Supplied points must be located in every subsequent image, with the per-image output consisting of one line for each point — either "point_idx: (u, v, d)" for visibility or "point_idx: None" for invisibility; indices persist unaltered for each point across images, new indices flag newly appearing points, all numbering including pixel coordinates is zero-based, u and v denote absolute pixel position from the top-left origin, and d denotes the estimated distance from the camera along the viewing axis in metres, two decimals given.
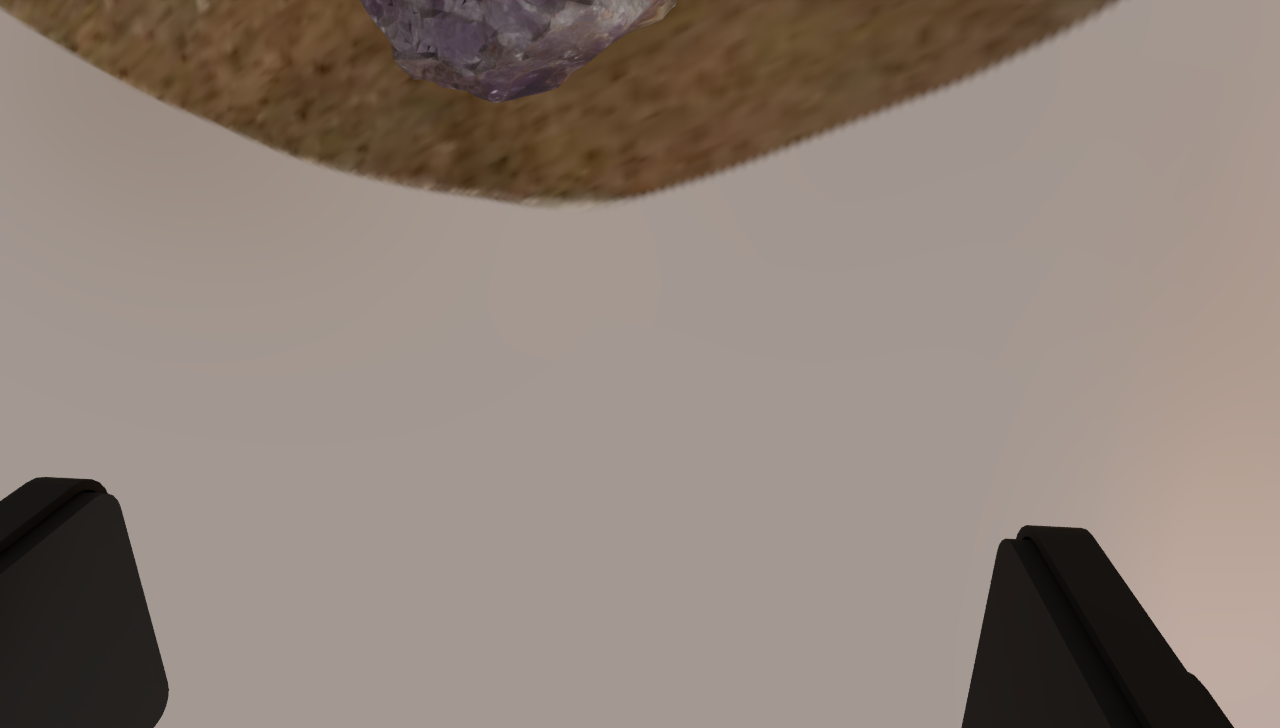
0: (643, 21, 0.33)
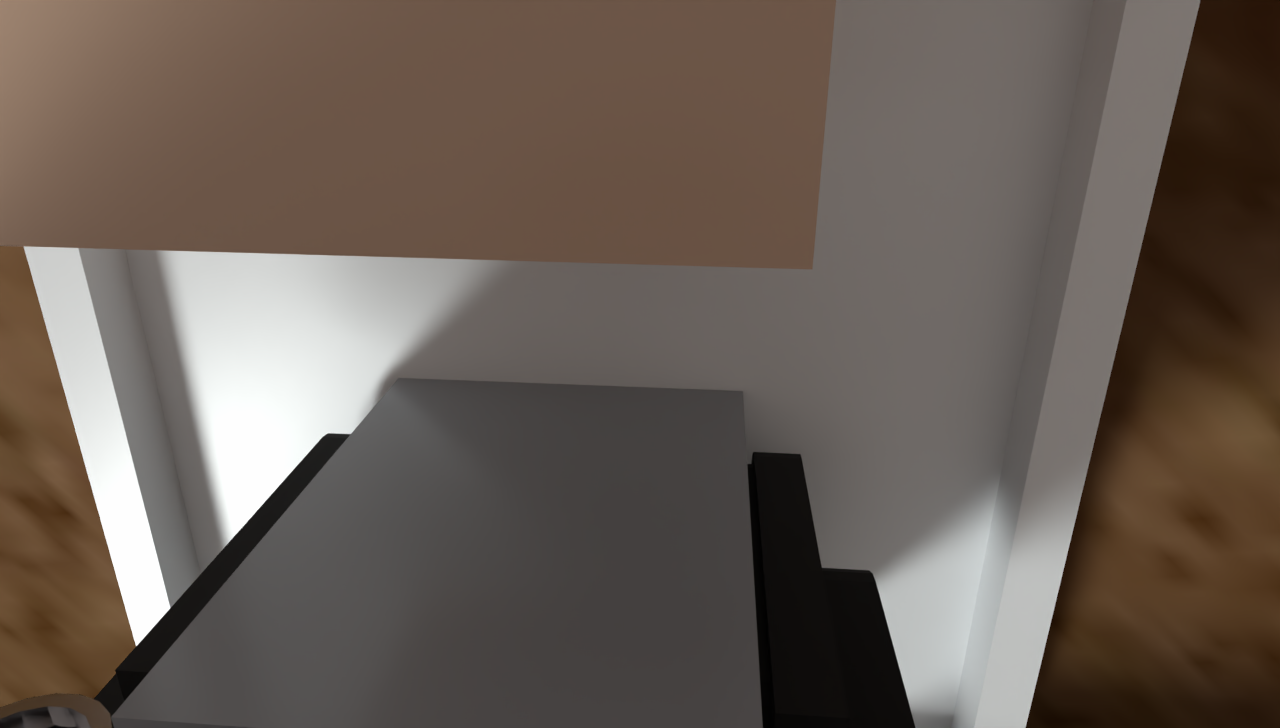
0: None
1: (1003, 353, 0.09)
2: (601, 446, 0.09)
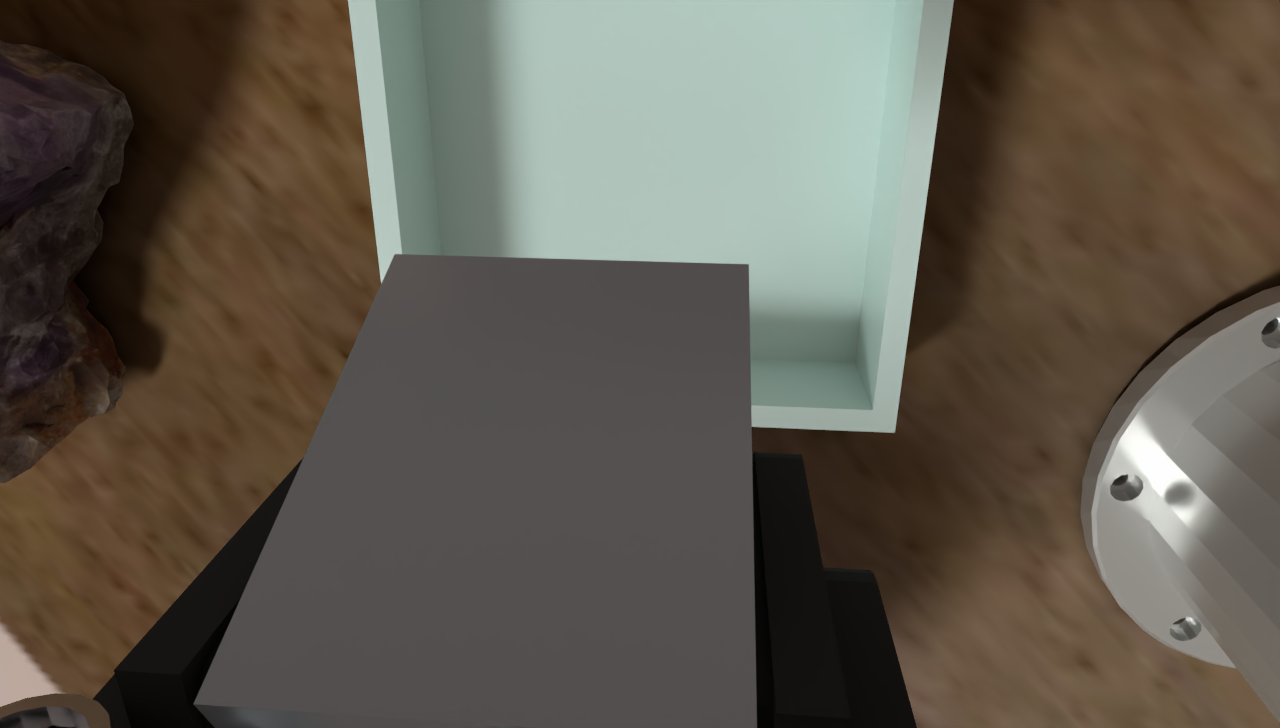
0: None
1: None
2: (606, 351, 0.09)
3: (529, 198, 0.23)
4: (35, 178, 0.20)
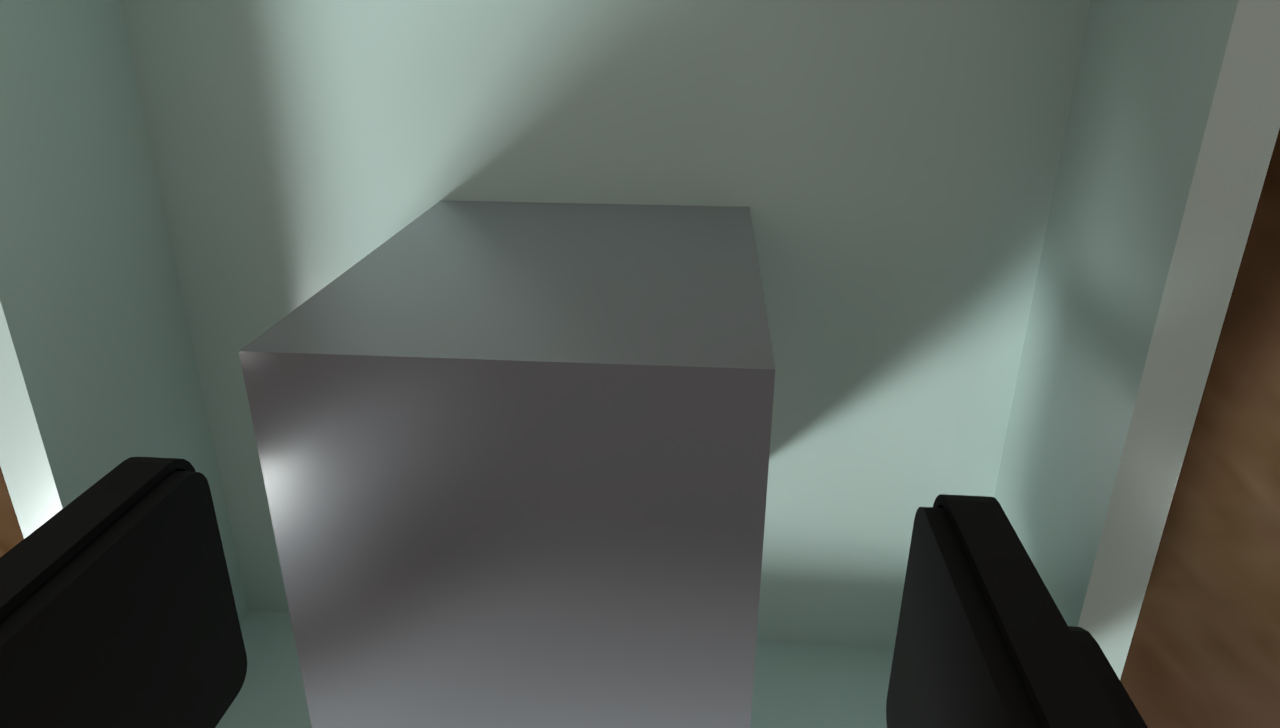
0: None
1: None
2: (626, 233, 0.10)
3: None
4: None
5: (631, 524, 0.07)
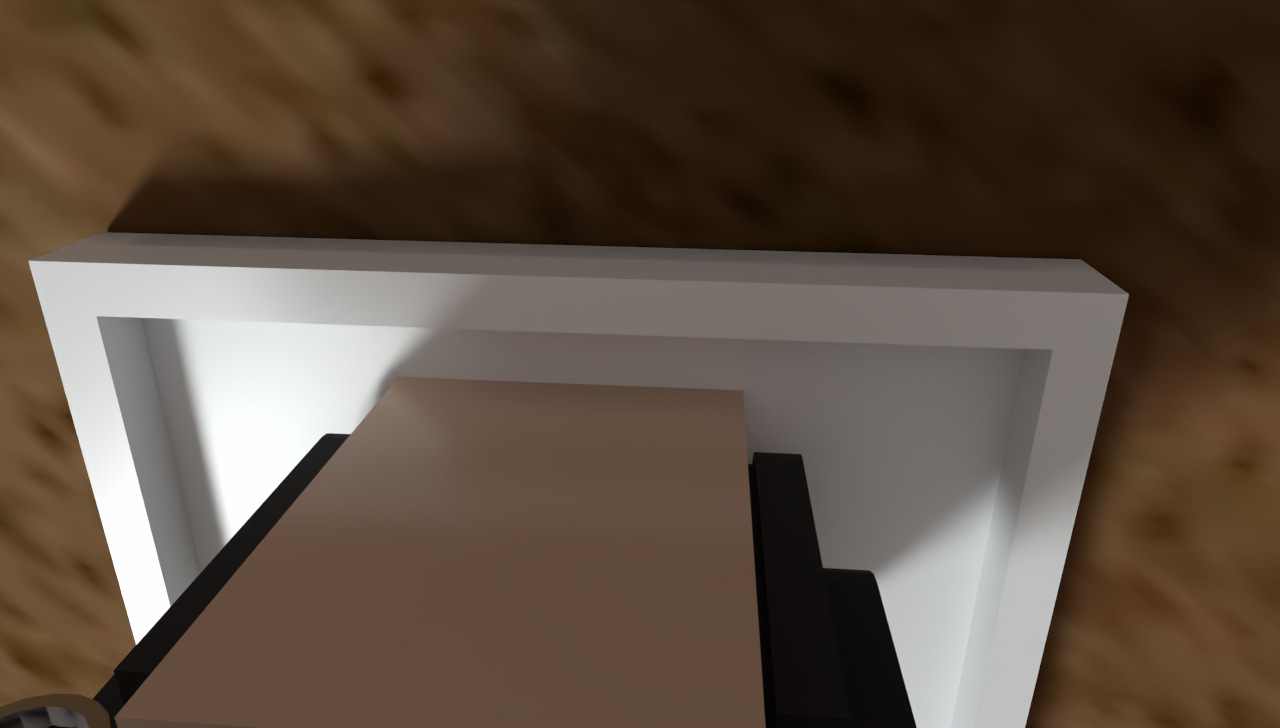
0: None
1: None
2: None
3: None
4: None
5: None
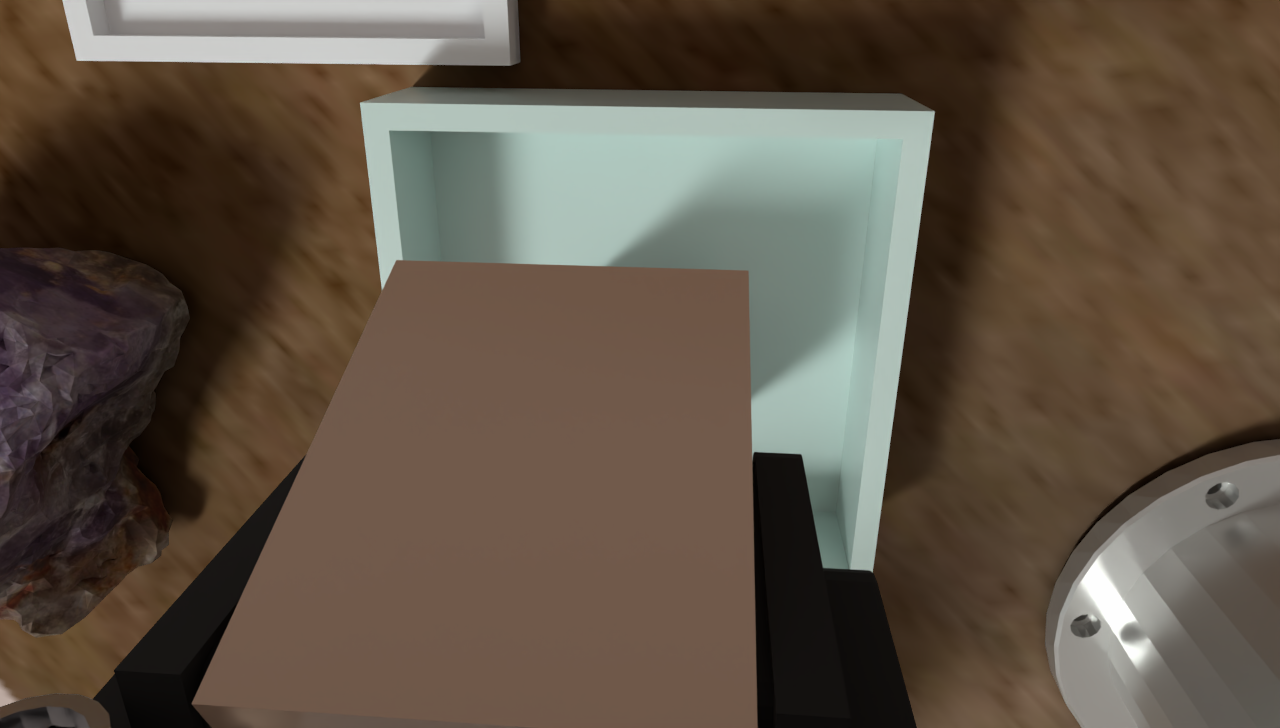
0: None
1: None
2: None
3: None
4: (107, 391, 0.22)
5: None
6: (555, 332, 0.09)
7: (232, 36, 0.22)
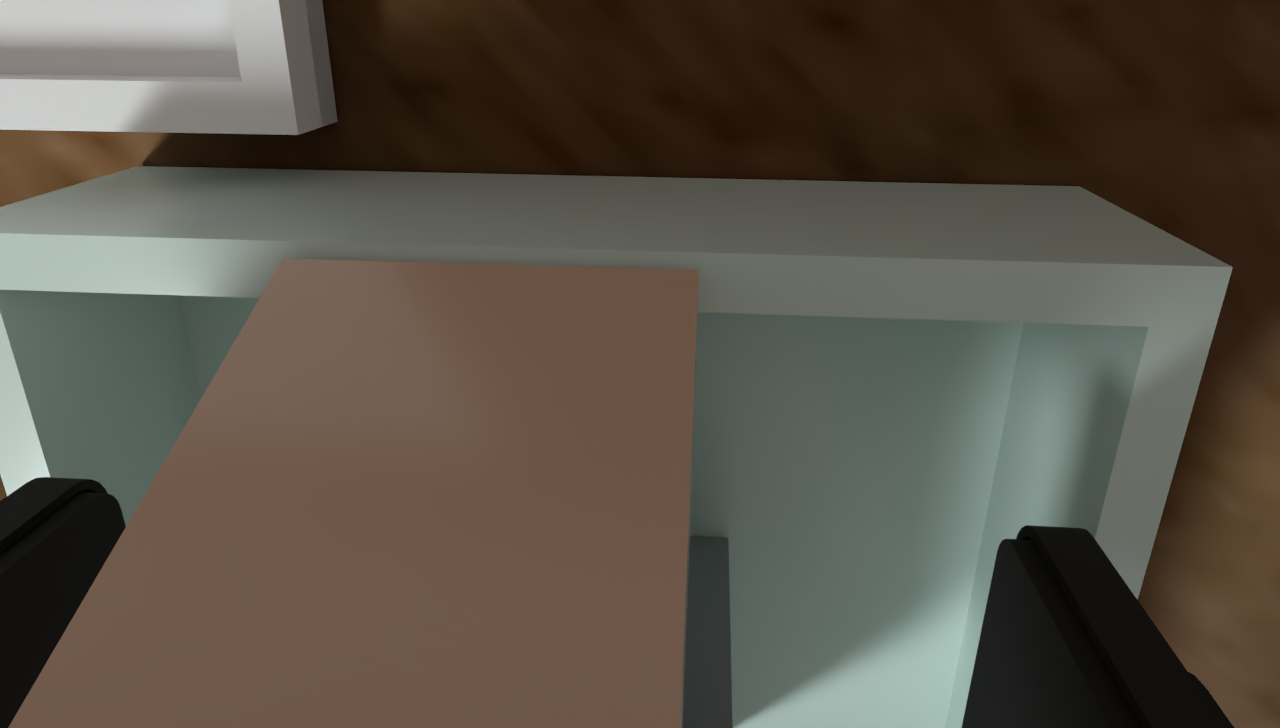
0: None
1: None
2: None
3: None
4: None
5: None
6: (461, 347, 0.07)
7: None
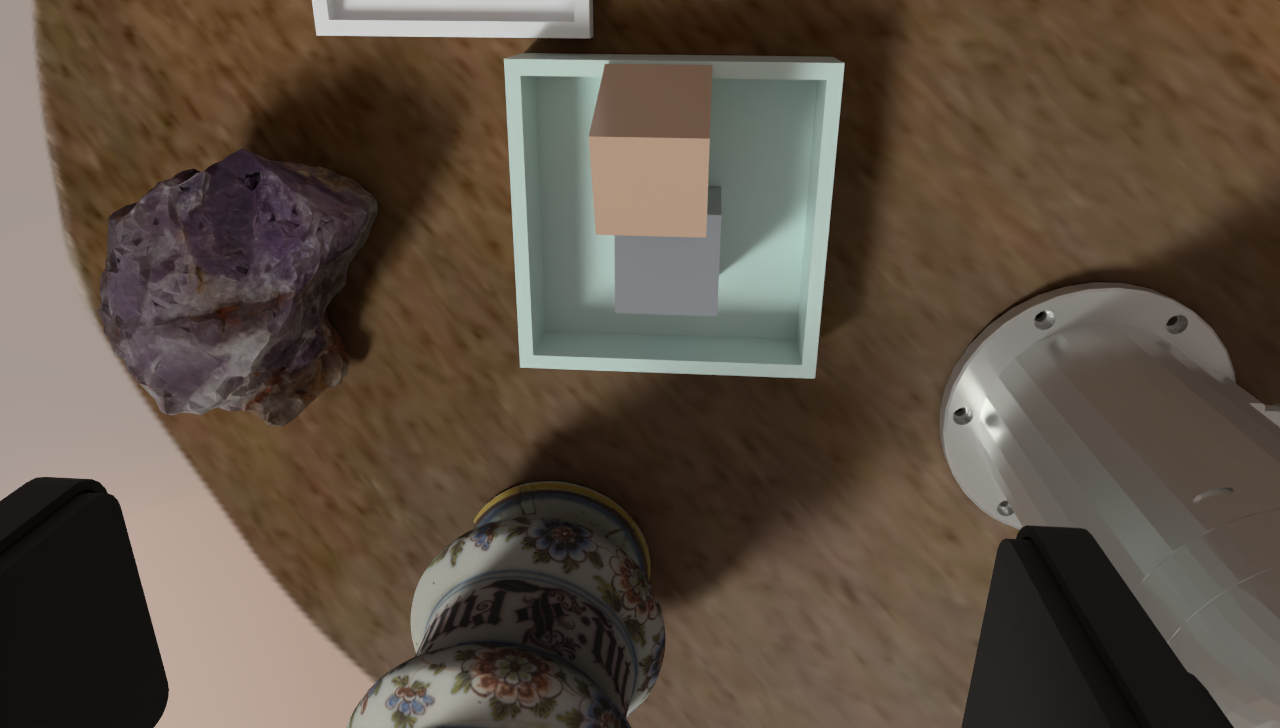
0: None
1: None
2: None
3: (598, 239, 0.38)
4: (340, 250, 0.36)
5: (692, 250, 0.33)
6: (656, 78, 0.31)
7: (416, 20, 0.35)
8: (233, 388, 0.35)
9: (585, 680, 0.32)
